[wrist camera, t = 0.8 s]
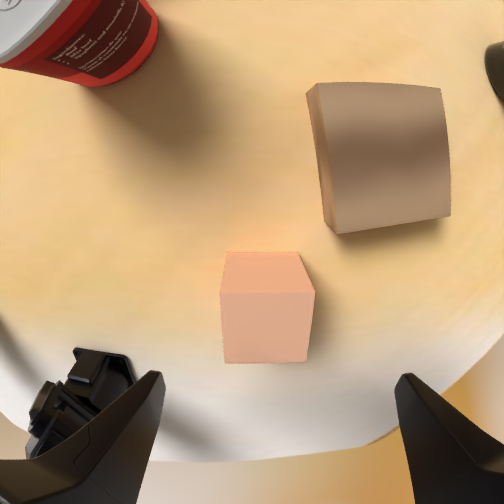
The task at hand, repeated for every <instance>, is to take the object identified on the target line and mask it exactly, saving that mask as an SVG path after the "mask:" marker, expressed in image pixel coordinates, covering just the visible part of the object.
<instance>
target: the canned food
mask: <svg viewBox="0 0 504 504" xmlns="http://www.w3.org/2000/svg"><path fill="white" fill-rule="evenodd" d="M157 37H158V21H157V16H156V14H155V12H154V10H153V9H152V8H151V6H150V5H149V4H148V2H147V1H146V0H0V67H2V68H8V69H14V70H19V71H25V72H30V73H35V74H39V75H44V76H48V77H53V78H57V79H61V80H65V81H69V82H72V83H76V84H80V85H84V86H89V87H93V86H102V85H107V84H112V83H114V82H117V81H119V80H122V79H124V78H125V77H127V76H129V75H130V74H132V73H133V72H134V71H135V70H137V69H138V68H139V67H140V66H141V65H142V64H143V63H144V62H145V61H146V59H147V58H148V57H149V55H150V54H151V52H152V50H153V48H154V46H155V44H156V40H157Z"/></svg>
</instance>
